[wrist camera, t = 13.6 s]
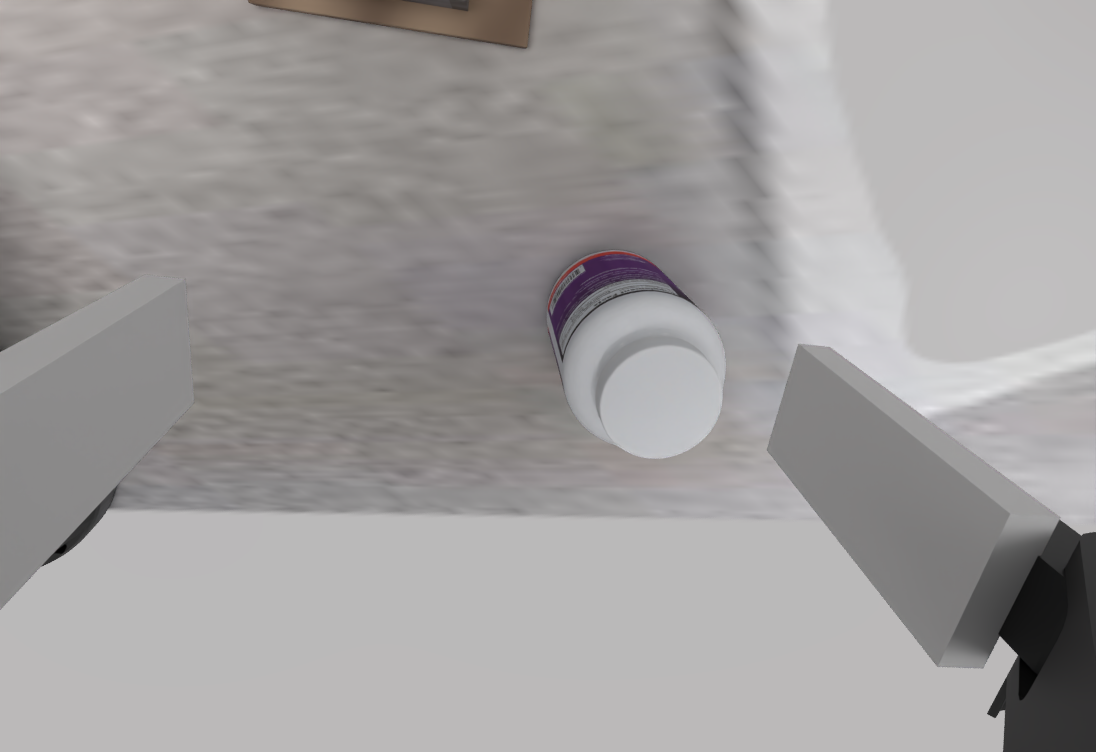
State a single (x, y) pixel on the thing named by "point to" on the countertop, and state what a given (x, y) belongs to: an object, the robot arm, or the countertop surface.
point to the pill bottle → (635, 355)
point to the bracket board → (428, 16)
